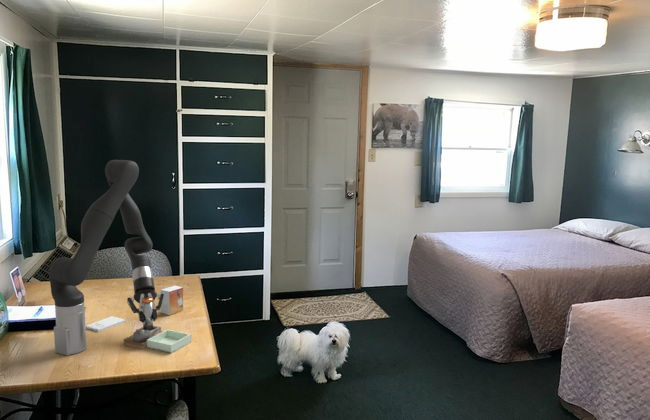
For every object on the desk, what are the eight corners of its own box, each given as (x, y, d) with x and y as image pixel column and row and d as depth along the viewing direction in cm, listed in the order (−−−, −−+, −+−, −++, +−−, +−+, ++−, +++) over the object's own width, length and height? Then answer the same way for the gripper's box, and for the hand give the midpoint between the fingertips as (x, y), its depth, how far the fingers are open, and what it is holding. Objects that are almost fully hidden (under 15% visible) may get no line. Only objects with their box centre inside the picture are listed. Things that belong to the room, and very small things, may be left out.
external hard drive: (125, 323, 207) (98, 333, 197) (111, 319, 211) (84, 329, 201) (124, 319, 207) (98, 329, 196) (111, 315, 211) (84, 325, 200)
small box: (169, 315, 215) (168, 291, 214) (160, 313, 218) (159, 289, 217) (183, 310, 222) (183, 287, 221) (175, 307, 225) (174, 284, 223)
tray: (171, 353, 179) (171, 345, 179) (147, 347, 183) (146, 339, 183) (191, 341, 189) (191, 334, 189) (167, 336, 193) (167, 329, 193)
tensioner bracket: (142, 349, 182) (142, 334, 181) (123, 344, 186) (123, 330, 185) (166, 336, 193) (165, 323, 192) (147, 332, 197) (147, 319, 196)
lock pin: (148, 334, 190) (147, 301, 188) (140, 332, 191) (139, 299, 189) (156, 330, 193) (155, 297, 191) (147, 329, 195) (146, 296, 193)
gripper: (124, 277, 193) (129, 319, 184) (163, 274, 199) (169, 313, 190) (123, 287, 198) (128, 328, 189) (161, 283, 204) (167, 322, 195)
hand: (148, 320), depth 190 cm, fingers closed on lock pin, 3 cm apart
